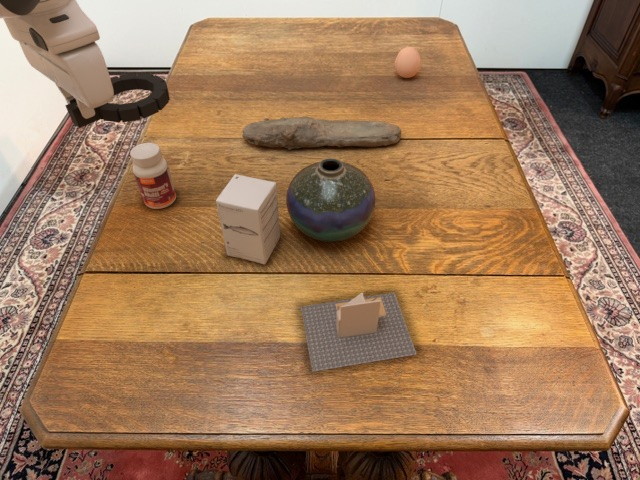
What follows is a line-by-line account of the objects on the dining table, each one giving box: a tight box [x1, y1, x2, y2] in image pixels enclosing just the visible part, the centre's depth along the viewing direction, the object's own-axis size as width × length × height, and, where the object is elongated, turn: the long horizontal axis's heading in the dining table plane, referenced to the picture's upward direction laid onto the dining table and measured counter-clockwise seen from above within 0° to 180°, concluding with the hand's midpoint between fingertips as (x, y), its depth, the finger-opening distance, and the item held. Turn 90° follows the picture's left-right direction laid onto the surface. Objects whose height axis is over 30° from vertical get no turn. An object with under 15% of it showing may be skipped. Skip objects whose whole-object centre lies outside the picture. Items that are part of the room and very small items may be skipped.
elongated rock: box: [241, 116, 402, 151], centre depth 104 cm, size 35×5×10 cm
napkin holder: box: [335, 292, 387, 338], centre depth 68 cm, size 3×7×7 cm, turn 100°
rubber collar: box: [65, 72, 171, 129], centre depth 74 cm, size 15×12×3 cm
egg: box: [394, 46, 422, 79], centre depth 123 cm, size 7×7×8 cm
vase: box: [285, 157, 376, 243], centre depth 81 cm, size 15×15×13 cm
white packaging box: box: [215, 173, 281, 265], centre depth 78 cm, size 7×7×13 cm
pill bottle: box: [129, 142, 177, 210], centre depth 87 cm, size 6×6×11 cm
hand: (82, 111), depth 71 cm, fingers closed on rubber collar, 2 cm apart
